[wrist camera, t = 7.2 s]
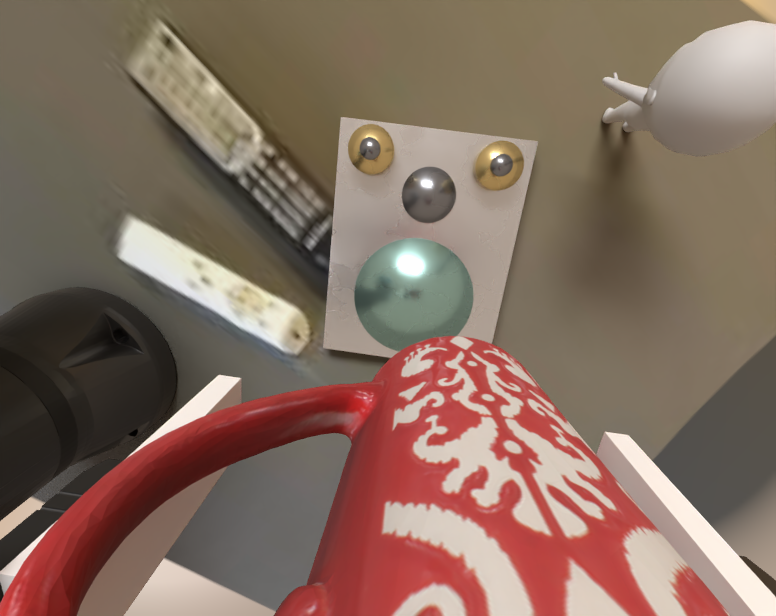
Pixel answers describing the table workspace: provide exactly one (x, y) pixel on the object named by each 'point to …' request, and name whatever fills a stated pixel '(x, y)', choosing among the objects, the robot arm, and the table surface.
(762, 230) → the table surface
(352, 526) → the mug
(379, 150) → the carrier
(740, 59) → the figurine
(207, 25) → the table surface
